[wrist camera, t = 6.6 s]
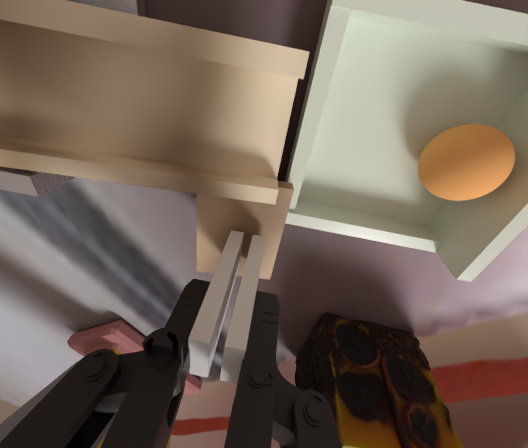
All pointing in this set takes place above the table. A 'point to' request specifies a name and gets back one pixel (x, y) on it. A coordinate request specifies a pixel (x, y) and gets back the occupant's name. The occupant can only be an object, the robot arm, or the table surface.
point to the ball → (466, 162)
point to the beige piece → (152, 113)
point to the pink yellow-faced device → (85, 342)
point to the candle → (375, 386)
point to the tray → (410, 124)
